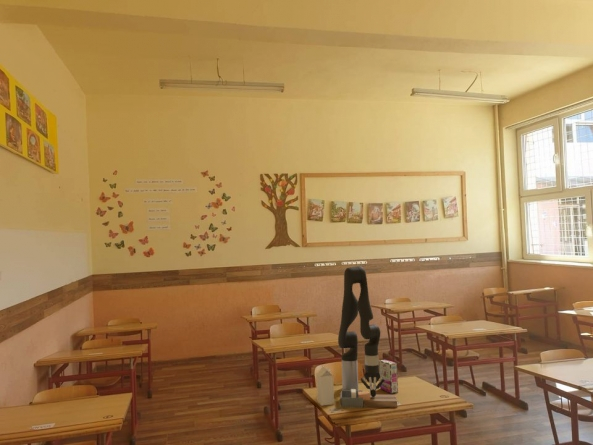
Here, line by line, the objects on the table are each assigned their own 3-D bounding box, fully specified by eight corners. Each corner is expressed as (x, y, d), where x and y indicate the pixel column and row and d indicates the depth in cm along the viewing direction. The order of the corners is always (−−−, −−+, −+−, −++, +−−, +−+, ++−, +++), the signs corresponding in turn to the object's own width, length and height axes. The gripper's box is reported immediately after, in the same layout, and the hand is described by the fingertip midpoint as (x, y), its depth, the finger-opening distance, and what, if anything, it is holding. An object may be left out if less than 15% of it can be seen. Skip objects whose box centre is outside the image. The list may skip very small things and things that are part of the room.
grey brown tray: (363, 399, 248) (363, 394, 248) (395, 400, 246) (395, 394, 246) (363, 406, 237) (363, 400, 237) (397, 407, 235) (397, 401, 235)
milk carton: (321, 406, 240) (320, 369, 241) (317, 401, 247) (316, 366, 248) (334, 404, 242) (333, 367, 243) (329, 400, 249) (328, 364, 250)
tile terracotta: (358, 396, 245) (357, 391, 246) (369, 396, 245) (369, 391, 245) (358, 399, 240) (358, 395, 240) (370, 399, 239) (370, 395, 239)
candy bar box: (398, 392, 259) (397, 363, 260) (391, 394, 257) (390, 364, 258) (386, 387, 269) (385, 359, 270) (379, 388, 267) (378, 360, 268)
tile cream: (355, 400, 246) (351, 400, 246) (355, 389, 246) (351, 388, 246) (356, 404, 240) (351, 404, 240) (356, 392, 240) (351, 392, 240)
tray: (341, 399, 251) (341, 390, 251) (362, 399, 249) (362, 390, 249) (340, 407, 238) (340, 397, 238) (363, 407, 236) (362, 398, 237)
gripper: (384, 361, 246) (385, 394, 245) (359, 361, 248) (360, 394, 247) (385, 365, 239) (386, 399, 238) (359, 365, 240) (360, 398, 239)
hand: (373, 396), depth 242 cm, fingers closed
